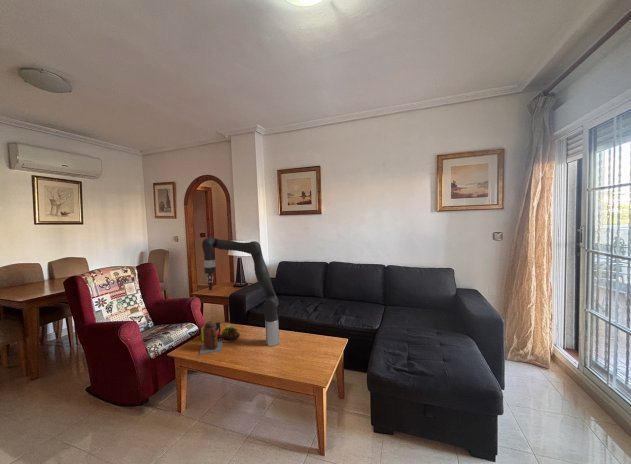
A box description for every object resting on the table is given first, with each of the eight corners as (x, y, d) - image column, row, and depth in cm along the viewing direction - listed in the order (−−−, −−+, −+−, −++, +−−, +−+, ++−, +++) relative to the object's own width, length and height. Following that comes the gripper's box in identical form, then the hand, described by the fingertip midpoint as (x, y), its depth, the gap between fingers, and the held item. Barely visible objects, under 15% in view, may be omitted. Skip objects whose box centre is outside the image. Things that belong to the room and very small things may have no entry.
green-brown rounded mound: (216, 335, 197) (216, 323, 197) (238, 331, 204) (237, 319, 203) (218, 345, 181) (217, 331, 181) (241, 340, 188) (240, 327, 188)
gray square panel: (222, 342, 185) (222, 341, 184) (222, 350, 172) (222, 349, 172) (201, 346, 180) (201, 344, 180) (199, 355, 168) (199, 353, 168)
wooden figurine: (221, 346, 177) (220, 321, 176) (213, 350, 171) (212, 324, 170) (209, 343, 182) (208, 318, 181) (201, 347, 176) (200, 321, 175)
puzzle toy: (215, 341, 187) (214, 328, 187) (201, 341, 187) (201, 328, 187) (220, 335, 197) (219, 322, 197) (207, 335, 197) (207, 322, 197)
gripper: (204, 265, 186) (205, 286, 187) (203, 268, 173) (204, 291, 174) (215, 264, 189) (216, 285, 190) (215, 267, 176) (216, 290, 176)
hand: (210, 288), depth 182 cm, fingers open, 8 cm apart
